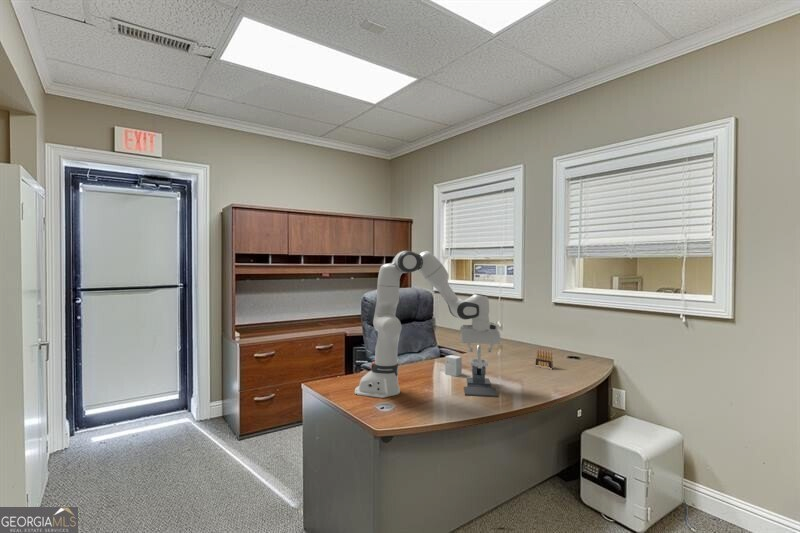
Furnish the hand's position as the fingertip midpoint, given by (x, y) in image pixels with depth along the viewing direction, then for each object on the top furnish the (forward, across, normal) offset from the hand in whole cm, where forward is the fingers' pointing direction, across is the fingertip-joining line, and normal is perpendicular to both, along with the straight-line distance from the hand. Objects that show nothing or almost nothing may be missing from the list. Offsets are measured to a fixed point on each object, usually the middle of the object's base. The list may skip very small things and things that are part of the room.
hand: (480, 351), depth 209 cm
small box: (+19, -14, +24) cm, 33 cm away
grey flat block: (+8, 0, +4) cm, 9 cm away
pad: (+19, 0, -7) cm, 20 cm away
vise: (+19, 0, +7) cm, 20 cm away
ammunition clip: (+20, +44, +50) cm, 69 cm away
